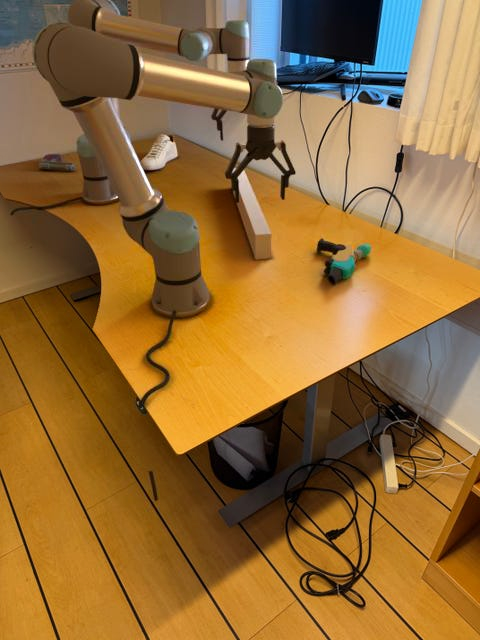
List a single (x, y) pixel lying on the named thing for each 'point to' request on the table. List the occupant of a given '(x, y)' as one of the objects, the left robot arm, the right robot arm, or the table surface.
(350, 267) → the toy gun
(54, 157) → the toy gun
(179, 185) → the table surface
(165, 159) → the sneaker
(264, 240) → the beam
